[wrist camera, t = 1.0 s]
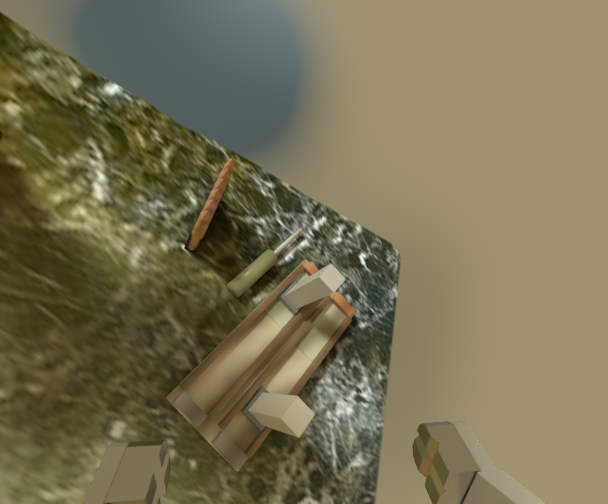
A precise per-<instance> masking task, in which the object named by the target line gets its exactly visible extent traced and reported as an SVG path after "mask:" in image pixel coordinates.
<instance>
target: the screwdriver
mask: <svg viewBox="0 0 608 504" xmlns="http://www.w3.org/2000/svg"><path fill="white" fill-rule="evenodd" d="M302 231H303V230H302V228H299V229H298V230H297V231H296V232H295V233H294V234H293V235H292V236H290V237H289V238H288V239H287V240H286V241H285V242H284V243H283V244H281V245H280V246H279V247H278V248H277V249H276V250H275V251H274V252H273V251H272V250H270V249H267V250H266V251H265V252H264V253H263V254H261V255H260V256H259V257H258V258H257V259H256V260H255V261H253V262H252V263H251V264H250V265H249V266H248V267H246V268H245V269H244V270H243V271H242V272H241V273H240V274H238V275H237V276H236V277H235V278H234V279H233V280H232V281H230V282H229V283H228V284H227V285H226V286H227V289H228V290H229V291H230V292H231V294H232V295H233V296H235V297H237V298H238V297H240V296H241V295H242V294H243V293H244V292H245V291H246V290H247V289H248V288H249V287H250V286H251V285H253V284H254V283H255V282H256V281H257V280H258V279H259V278H260V277H261V276H262V275H263V274H264V273H265V272H267V271H268V270H269V269H270V268H271V267H272V266H273V265H274V264H275V263H276V262H277V261H278V257H277V254H278V253H279V252H280V251H281V250H282V249H283V248H284V247H285V246H286V245H288V244H289V243H290V242H291V241H292V240H293V239H294V238H295V237H296V236H298V235H299V234H300V233H301V232H302Z"/></svg>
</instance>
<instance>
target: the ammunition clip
mask: <svg viewBox="0 0 608 504" xmlns="http://www.w3.org/2000/svg"><path fill="white" fill-rule="evenodd" d="M233 167H234V160H233V159H230V160H229V161H228V162H227V163H226V165H225V167H224V168H223V170H222V171H221V173H220V174H219V176H218V179H217V180H216V181H215V183H214V185H213V188H212V190H211V192H210V194H209V196H208V198H207V200H206V202H205V204H204V206H203V208H202V210H201V212H200V214H199V216H198V218H197V220H196V223H195V225H194V227H193V229H192V231H191V233H190V235H189V238H188V240H187V242H186V245H185V247H184V248H185V249H187V250H189V251H191V252H194V253H196V252H197V250H198V248H199V246H200V244H201V242H202V240H203V238H204V236H205V234H206V232H207V230H208V227H209V225H210V223H211V221H212V219H213V216H214V214H215V212H216V210H217V208H218V206H219V203H220V201H221V199H222V197H223V195H224V192H225V190H226V188H227V186H228V185H227V184H228V182H229V180H230V176H231V173H232V170H233Z"/></svg>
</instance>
